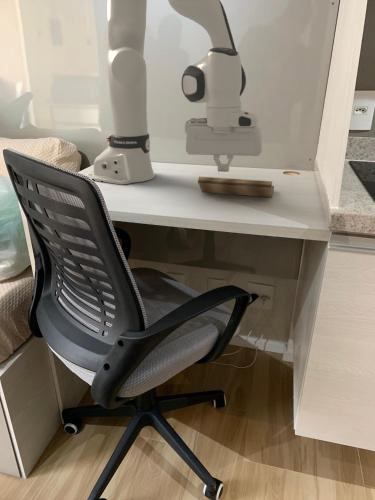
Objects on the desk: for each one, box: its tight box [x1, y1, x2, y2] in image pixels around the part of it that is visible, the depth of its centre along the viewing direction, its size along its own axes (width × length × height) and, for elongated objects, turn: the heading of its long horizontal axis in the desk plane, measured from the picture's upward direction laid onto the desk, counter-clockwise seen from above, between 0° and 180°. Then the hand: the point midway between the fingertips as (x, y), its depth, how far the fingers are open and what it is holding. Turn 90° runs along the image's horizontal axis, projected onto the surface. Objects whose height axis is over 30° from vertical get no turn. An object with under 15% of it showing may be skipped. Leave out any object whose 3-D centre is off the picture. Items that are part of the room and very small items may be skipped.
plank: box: [197, 176, 273, 198], centre depth 110 cm, size 20×7×2 cm
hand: (223, 171), depth 107 cm, fingers closed
